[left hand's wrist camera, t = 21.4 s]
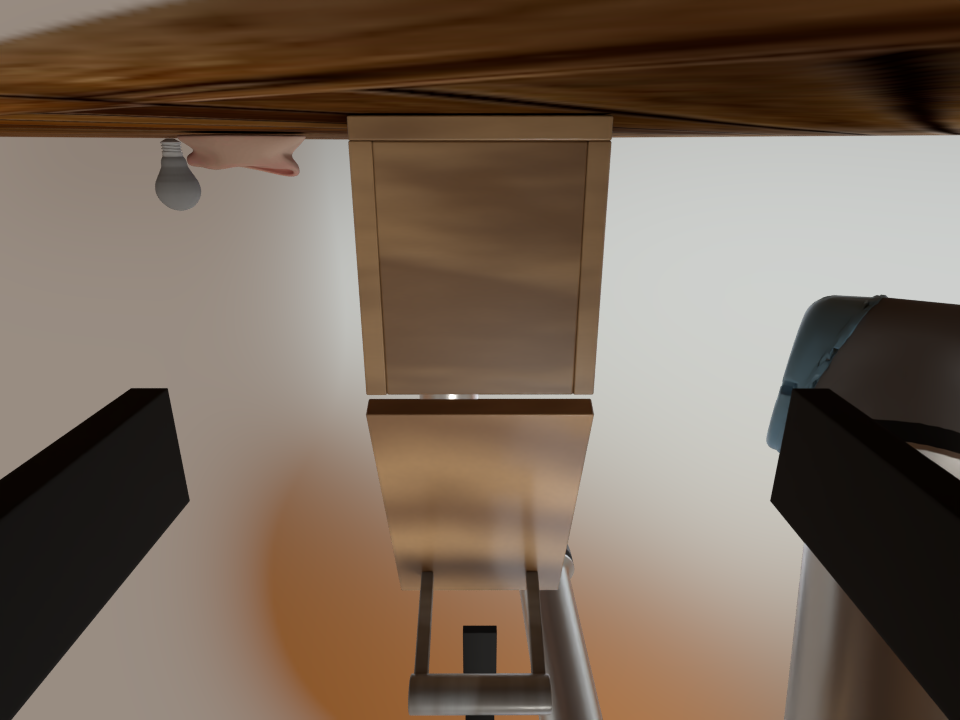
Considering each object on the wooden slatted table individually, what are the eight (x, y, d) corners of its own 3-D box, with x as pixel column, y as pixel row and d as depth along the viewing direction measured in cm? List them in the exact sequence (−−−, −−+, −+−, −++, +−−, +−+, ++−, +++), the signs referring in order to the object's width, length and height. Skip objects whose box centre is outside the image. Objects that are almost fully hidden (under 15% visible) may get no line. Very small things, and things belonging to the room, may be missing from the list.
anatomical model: (182, 185, 49) (323, 182, 53) (173, 133, 47) (319, 134, 52) (187, 177, 60) (303, 175, 64) (180, 135, 59) (299, 136, 63)
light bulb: (184, 138, 82) (196, 212, 85) (198, 138, 88) (209, 208, 91) (138, 138, 81) (152, 212, 85) (155, 138, 87) (168, 208, 90)
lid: (556, 575, 37) (571, 726, 31) (402, 576, 37) (388, 727, 31) (591, 397, 26) (625, 582, 20) (368, 398, 26) (335, 583, 20)
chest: (557, 126, 36) (550, 301, 40) (400, 126, 36) (408, 301, 40) (613, 115, 21) (593, 395, 25) (346, 115, 21) (366, 395, 25)
